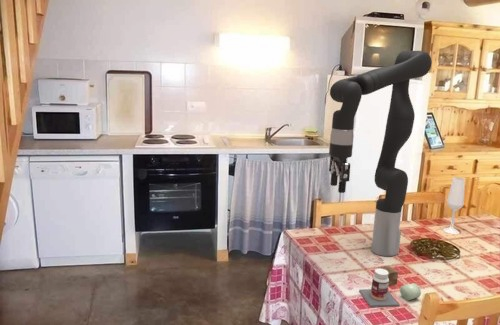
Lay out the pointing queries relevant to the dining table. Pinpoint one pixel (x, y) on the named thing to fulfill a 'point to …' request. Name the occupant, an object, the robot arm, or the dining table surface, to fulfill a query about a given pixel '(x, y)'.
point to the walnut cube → (391, 274)
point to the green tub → (410, 291)
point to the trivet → (378, 303)
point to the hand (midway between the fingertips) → (337, 188)
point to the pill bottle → (380, 284)
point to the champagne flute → (455, 200)
